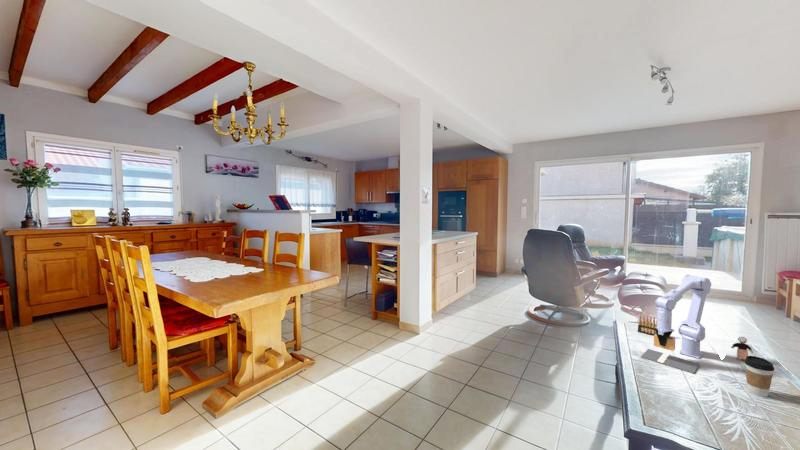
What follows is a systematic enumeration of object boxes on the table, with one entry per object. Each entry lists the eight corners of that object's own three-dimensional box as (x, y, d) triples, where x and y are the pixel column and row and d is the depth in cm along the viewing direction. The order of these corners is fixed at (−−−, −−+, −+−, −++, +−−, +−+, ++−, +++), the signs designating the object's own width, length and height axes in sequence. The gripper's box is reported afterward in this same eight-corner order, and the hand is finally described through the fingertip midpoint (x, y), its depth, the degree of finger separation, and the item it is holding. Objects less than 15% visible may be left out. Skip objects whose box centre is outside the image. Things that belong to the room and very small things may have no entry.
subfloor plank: (648, 349, 171) (648, 348, 171) (699, 364, 154) (699, 363, 154) (640, 357, 162) (640, 356, 162) (694, 374, 146) (694, 372, 146)
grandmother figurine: (750, 360, 157) (751, 337, 157) (753, 363, 154) (754, 339, 154) (729, 356, 162) (730, 333, 161) (732, 359, 159) (733, 336, 158)
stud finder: (655, 343, 164) (656, 332, 164) (675, 348, 158) (675, 337, 157) (653, 345, 162) (654, 334, 161) (673, 351, 155) (673, 339, 155)
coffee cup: (762, 389, 133) (764, 356, 132) (779, 400, 125) (780, 366, 124) (737, 385, 136) (739, 354, 135) (752, 396, 128) (754, 363, 127)
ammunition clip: (659, 336, 188) (659, 318, 188) (658, 337, 187) (659, 318, 186) (638, 331, 197) (638, 313, 196) (637, 331, 195) (638, 314, 195)
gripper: (671, 325, 152) (670, 351, 152) (677, 318, 160) (676, 343, 161) (653, 321, 157) (652, 346, 158) (660, 315, 166) (659, 338, 167)
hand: (663, 344), depth 160 cm, fingers closed on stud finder, 4 cm apart
